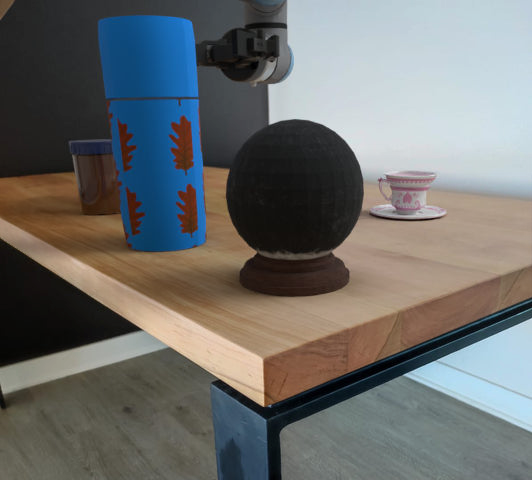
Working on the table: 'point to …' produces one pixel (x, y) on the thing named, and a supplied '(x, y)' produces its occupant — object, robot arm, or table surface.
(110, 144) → the lid
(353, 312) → the table surface
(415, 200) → the teacup
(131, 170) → the thermos
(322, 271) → the black crystal ball
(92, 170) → the jar
